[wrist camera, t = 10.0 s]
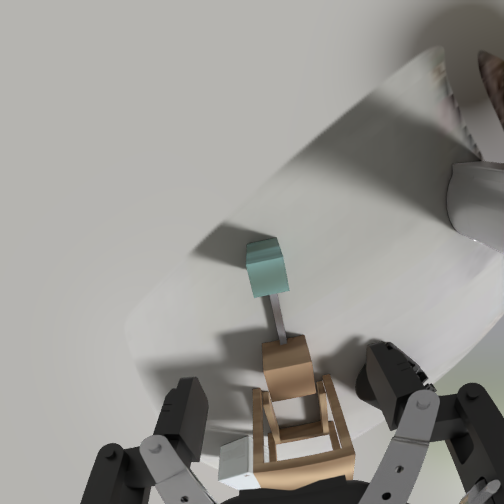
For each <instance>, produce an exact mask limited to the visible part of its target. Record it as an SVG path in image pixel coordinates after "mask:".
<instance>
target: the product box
mask: <svg viewBox="0 0 504 504" xmlns="http://www.w3.org/2000/svg"><path fill="white" fill-rule="evenodd" d="M266 462H269V448H267V447H266V446H264V463H266ZM218 481H220V482H222V483H224V484H226V485H228V486H230V487H233V488H235V489H237V490H243V489H256V488H259V487H261V486H260V485H259V483H258V481H257V479H256V478H255V476H254V474H253V439H252V438H251V437H249V436H246V437H244V438H241V439H239V440H236V441H234V442H231V443H229V444H226V445H223V446H221V448H220V460H219V472H218Z"/></svg>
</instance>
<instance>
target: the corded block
mask: <svg viewBox="0 0 504 504" xmlns="http://www.w3.org/2000/svg"><path fill="white" fill-rule="evenodd" d="M246 267H247V271H248V275H249V279H250V283H251V287H252V292H253V296H254V298H256V297H261V296H266V295H270V300H271V304H272V309H273V313H274V318H275V323H276V327H277V332H278V336H279V340H277V341H272V342H267V343H262V356H263V372H264V375H265V379H266V382H267V386H268V390H269V393H270V397H271V400H272V402H275V401H281V400H286V399H291V398H296V397H301V396H306V395H311V394H315V393H316V389H315V381H314V374H313V366H312V360H311V357H310V353H309V350H308V346H307V343H306V339H305V336H304V335H301V336H297V337H292V338H287V339H286V334H285V329H284V324H283V319H282V314H281V309H280V305H279V300H278V295H277V293H281V292H285V291H290V290H289V285H288V280H287V274H286V269H285V264H284V259H283V255H282V252H281V249H280V246H279V243H278V240H277V238H272V239H268V240H263V241H258V242H254V243H249V244H247V254H246Z"/></svg>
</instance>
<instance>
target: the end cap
mask: <svg viewBox="0 0 504 504" xmlns="http://www.w3.org/2000/svg"><path fill="white" fill-rule="evenodd" d="M386 347H387V348H388V350H391V349H394V348H395V349H397V350H398V351H400V352H401V353H403V352H402V351H401V350H400V349H399V348H397V347H396V346H395V345H394V344H392V343H391V342H389V343H387V344H386ZM403 354H404V356H405V357H406V359H407V360H408V362H409V363H410V365H411V367H412V368H413V370H414V371H415V373H416V374H417V376H418V377H419V379H420V381H421V382H422V384H423V383H424V382H425V381H426V380H427V379H428V377H427V376H426V374H425V373H424V372H423V370H421V369H420V366H419V365H418V364H417V363H415V362H414V361H413V360H412V359H411V358H409V357H408V356H407V355H406V354H405V353H403ZM424 387H425V388H426V390H430V391H433V392H436V391H437V390H436V389H435V387H434V386H433V384H432V383H431V384H430V385H429V384H428V383H427V384H426V385H425V386H424ZM355 388H356V394H357V396H358V397H359V398H360V399H361V400H363V401H365V402H367V403H368V404H370V405H372V406H374V407H376V408H378V409H380V410H381V408H380V405H379V403H378V401H377V398H376V396H375V394H374V392H373V389H372V387H371V385H370V383H369V380H368V377H367V371H366V364H365V366H364V367H363V369H362V370H361V372H360V373H359V375H358V378H357V381H356V386H355Z"/></svg>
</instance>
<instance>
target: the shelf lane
mask: <svg viewBox="0 0 504 504" xmlns="http://www.w3.org/2000/svg"><path fill="white" fill-rule="evenodd" d="M322 377H323V382H322V381H318V382H316V384H317V392H318V401H319V409H320V418H321V421H318V422H314V423H309V424H304V425H299V426H294V427H288V428H282V429H279V427H278V423H277V420H276V416H275V413H274V409H273V406H272V402H271V399H270V395H269V392H261V389H260V388H257V389H253V474H254V476H255V478H256V479H257V481H258V483H259V485H260V486H261V488H270V489H280V490H295V489H298V488H300V487H303V486H306V485H308V484H311V483H313V482H316V481H318V480H323V479H327V478H332V477H336V476H341V475H345V477H346V480H353V472H354V464H355V451H354V448H353V445H352V442H351V438H350V435H349V432H348V429H347V425H346V422H345V419H344V416H343V413H342V410H341V406H340V403H339V400H338V397H337V394H336V391H335V388H334V385H333V382H332V379H331V376H330V374H328V375H324V376H322ZM323 383H324V385H323ZM324 386H325V389H324ZM325 390H326V392H325ZM326 393H327V397H328V400H329V403H330V407H331V410H332V414H333V418H334V421H335V425H336V428H337V432H338V436H339V439H340V443H341V447H342V448H340V444H339V441H338V437H337V433H336V430H335V426H334V422H333V421H331V422H328V414H327V402H326ZM262 395H263V407H264V410H265V413H266V416H267V419H268V422H269V425H270V428H271V431H272V433H268V446H269V462H266V463H264V436H263V411H262ZM328 434H329V436H330V440H331V444H332V448H333V451H329V452H324V453H320V454H315V455H310V456H305V457H300V458H294V459H288V460H281V461H277V452H276V444H281V443H287V442H293V441H298V440H303V439H309V438H313V437H318V436H323V435H328Z"/></svg>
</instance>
